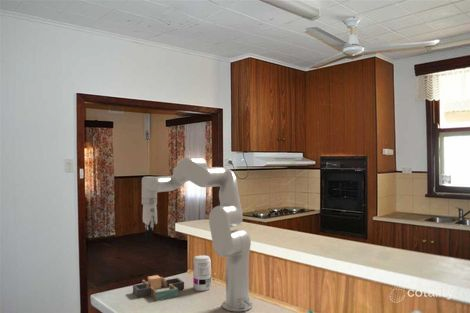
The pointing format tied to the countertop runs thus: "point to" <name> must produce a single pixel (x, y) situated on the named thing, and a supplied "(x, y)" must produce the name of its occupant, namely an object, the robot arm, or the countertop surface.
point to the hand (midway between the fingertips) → (149, 237)
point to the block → (154, 281)
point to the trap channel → (144, 291)
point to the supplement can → (202, 273)
